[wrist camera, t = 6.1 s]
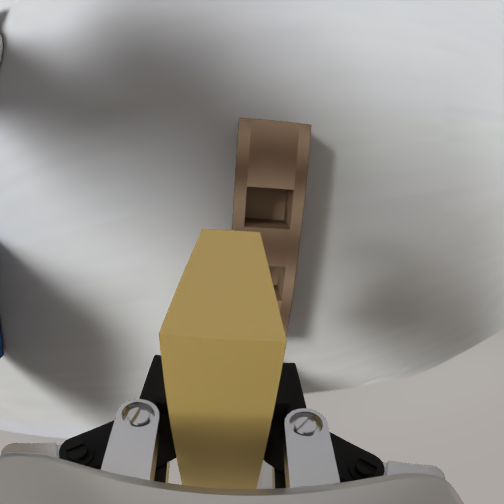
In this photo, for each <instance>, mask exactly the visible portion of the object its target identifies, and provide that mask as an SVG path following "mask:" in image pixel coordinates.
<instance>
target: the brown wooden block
mask: <svg viewBox="0 0 504 504" xmlns="http://www.w3.org/2000/svg"><path fill="white" fill-rule="evenodd" d="M310 136H311V125H309V124H301V123H292V122H283V121H273V120H262V119H249V118H239V128H238V142H237V156H236V171H235V187H234V204H233V221H232V230H234V231H249V232H260V234H261V238H262V242H263V246H264V250H265V254H266V258H267V262H268V266H269V270H270V274H271V278H272V283H273V287H274V291H275V295H276V299H277V303H278V307H279V311H280V315H281V319H282V324H283V328H284V332H285V336H287V330H288V323H289V317H290V310H291V303H292V296H293V289H294V282H295V275H296V267H297V259H298V251H299V243H300V235H301V227H302V218H303V209H304V200H305V190H306V180H307V170H308V159H309V148H310Z"/></svg>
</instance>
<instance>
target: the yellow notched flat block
mask: <svg viewBox="0 0 504 504" xmlns="http://www.w3.org/2000/svg"><path fill="white" fill-rule="evenodd" d="M159 340H160V350H161V360H162V368H163V377H164V384H165V392H166V399H167V406H168V412H169V418H170V424H171V430H172V436H173V441H174V447H175V452H176V457H177V462H178V467H179V471H180V476H181V480H182V485H186V486H196V487H208V488H226V489H256V488H257V484H258V480H259V476H260V472H261V467H262V463H263V459H264V454H265V450H266V445H267V441H268V436H269V431H270V427H271V422H272V417H273V412H274V407H275V402H276V397H277V392H278V387H279V381H280V376H281V371H282V365H283V360H284V354H285V349H286V343H287V340H286V336H285V332H284V328H283V324H282V319H281V315H280V311H279V307H278V303H277V299H276V295H275V291H274V287H273V283H272V278H271V274H270V270H269V266H268V262H267V258H266V254H265V250H264V246H263V242H262V238H261V234H260V232H249V231H234V230H218V229H202V231H201V233H200V236H199V238H198V240H197V242H196V245H195V247H194V249H193V252H192V254H191V256H190V259H189V261H188V263H187V266H186V268H185V270H184V273H183V275H182V277H181V280H180V282H179V285H178V287H177V289H176V292H175V294H174V297H173V299H172V302H171V304H170V307H169V309H168V312H167V314H166V317H165V319H164V322H163V324H162V327H161V329H160V332H159Z"/></svg>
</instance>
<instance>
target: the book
mask: <svg viewBox="0 0 504 504" xmlns="http://www.w3.org/2000/svg"><path fill="white" fill-rule="evenodd" d="M3 355H4V351H3V344H2V337H1V328H0V358H1V357H2V356H3Z"/></svg>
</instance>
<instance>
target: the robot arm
mask: <svg viewBox="0 0 504 504" xmlns="http://www.w3.org/2000/svg"><path fill="white" fill-rule="evenodd" d="M2 51H3V42H2V37H1V34H0V62H1V58H2ZM174 458H176V452H175V447H174V441H173V436H172V430H171V424H170V418H169V412H168V406H167V399H166V392H165V384H164V377H163V368H162V360H161V355H155V356H154V358H153V361H152V364H151V366H150V369H149V372H148V375H147V378H146V381H145V384H144V387H143V390H142V393H141V396H140V399H133V400H129V401H127V402H125V403H123V404H122V405H121V406H120V407H119V409H118V411H117V414H116V417H115V420H114V421H112V422H109V423H107V424H105V425H102V426H100V427H97V428H95V429H93V430H90V431H88V432H85V433H83V434H80V435H78V436H75V437H72V438H70V439H68V440H66V441H65V442H64V443H63V444H62V445H57V444H56V443H13V444H8V445H7V446H5V447H4V448H3V450H2V451H1V455H0V504H464V503H463V501H462V500H461V498H460V496H459V495H458V493H457V492H456V490H455V489H454V488H453V487H452V485H451V484H450V483H449V482H447V481H446V480H445V476H444V473H443V472H442V470H441V469H439V468H438V467H435V466H431V465H420V464H411V463H402V462H395V461H388V462H387V463H383V462H382V461H381V460H380V459H379V458H378V457H376V456H375V455H373V454H371V453H369V452H367V451H365V450H363V449H361V448H359V447H357V446H355V445H353V444H351V443H349V442H347V441H345V440H343V439H342V438H340V437H338V436H336V435H334V434H332V433H330V432H329V428H328V424H327V421H326V419H325V418H324V416H323V415H322V414H320V413H319V412H317V411H315V410H312V409H306V405H305V401H304V396H303V392H302V388H301V384H300V380H299V376H298V372H297V368H296V365H295V363H283V365H282V371H281V376H280V381H279V387H278V392H277V397H276V402H275V407H274V412H273V417H272V422H271V427H270V431H269V436H268V441H267V445H266V450H265V454H264V459H263V460H265V462H266V463H268V464H269V465H270V466H272V485H273V489H226V488H208V487H196V486H186V485H177V484H170V483H168V477H169V467H170V466H169V465H170V462H169V461H171V460H173V459H174Z"/></svg>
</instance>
